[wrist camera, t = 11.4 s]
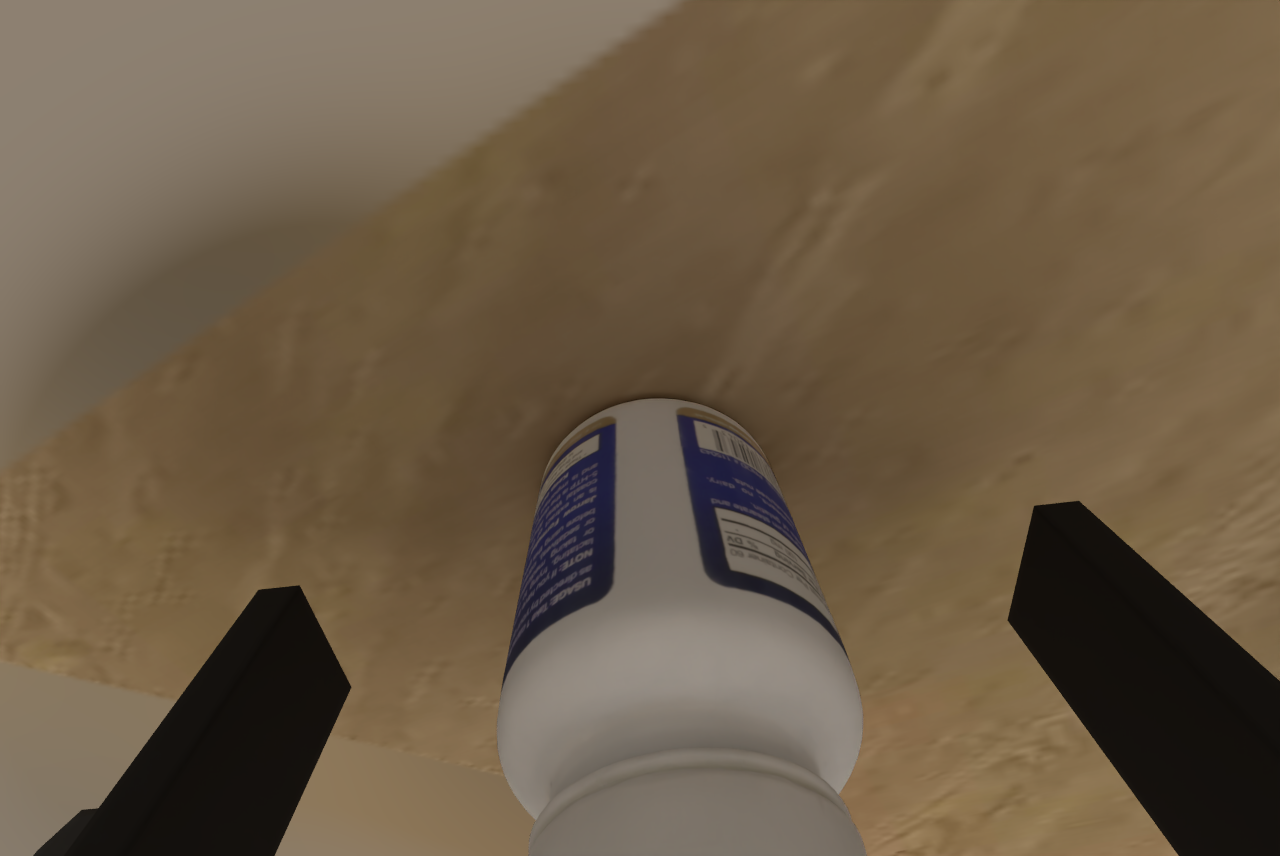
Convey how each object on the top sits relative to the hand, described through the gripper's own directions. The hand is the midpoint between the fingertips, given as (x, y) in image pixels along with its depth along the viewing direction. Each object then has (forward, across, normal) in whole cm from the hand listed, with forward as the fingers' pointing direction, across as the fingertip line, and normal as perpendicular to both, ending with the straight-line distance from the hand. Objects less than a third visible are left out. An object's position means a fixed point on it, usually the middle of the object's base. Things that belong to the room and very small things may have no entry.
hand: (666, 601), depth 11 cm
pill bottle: (+3, 0, 0) cm, 3 cm away
